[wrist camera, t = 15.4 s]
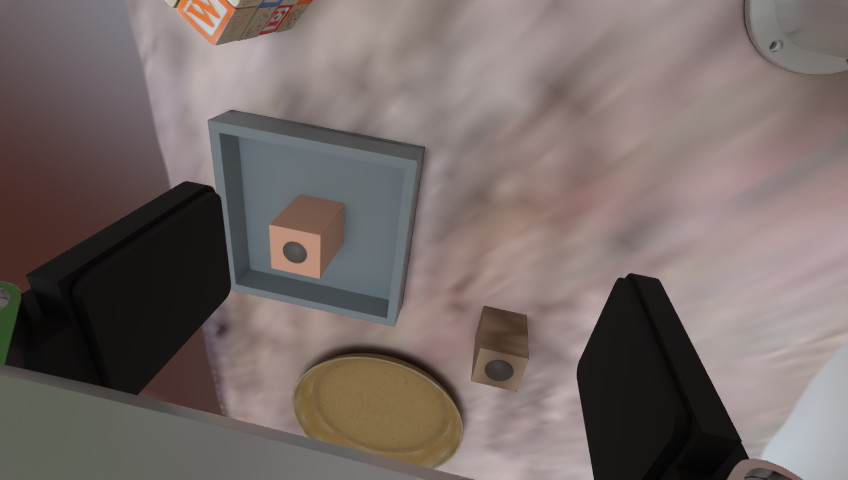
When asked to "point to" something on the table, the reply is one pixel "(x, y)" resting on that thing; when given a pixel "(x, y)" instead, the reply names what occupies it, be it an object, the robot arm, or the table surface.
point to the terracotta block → (307, 235)
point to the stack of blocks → (239, 17)
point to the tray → (327, 179)
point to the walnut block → (500, 349)
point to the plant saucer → (379, 409)
